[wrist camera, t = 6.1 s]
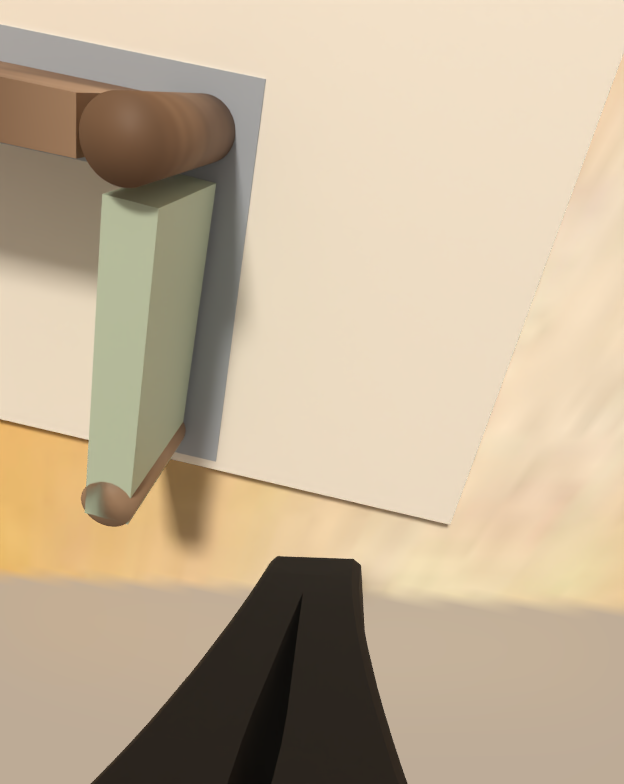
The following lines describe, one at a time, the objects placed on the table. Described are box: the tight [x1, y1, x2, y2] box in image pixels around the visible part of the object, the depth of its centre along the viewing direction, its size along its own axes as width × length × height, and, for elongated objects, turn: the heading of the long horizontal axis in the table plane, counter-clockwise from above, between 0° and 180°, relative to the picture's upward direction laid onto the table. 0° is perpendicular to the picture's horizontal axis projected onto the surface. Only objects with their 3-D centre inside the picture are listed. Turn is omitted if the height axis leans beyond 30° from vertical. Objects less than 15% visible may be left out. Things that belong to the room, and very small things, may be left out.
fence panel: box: [81, 174, 216, 527], centre depth 13 cm, size 7×1×4 cm, turn 168°
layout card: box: [0, 0, 624, 525], centre depth 13 cm, size 16×17×1 cm
